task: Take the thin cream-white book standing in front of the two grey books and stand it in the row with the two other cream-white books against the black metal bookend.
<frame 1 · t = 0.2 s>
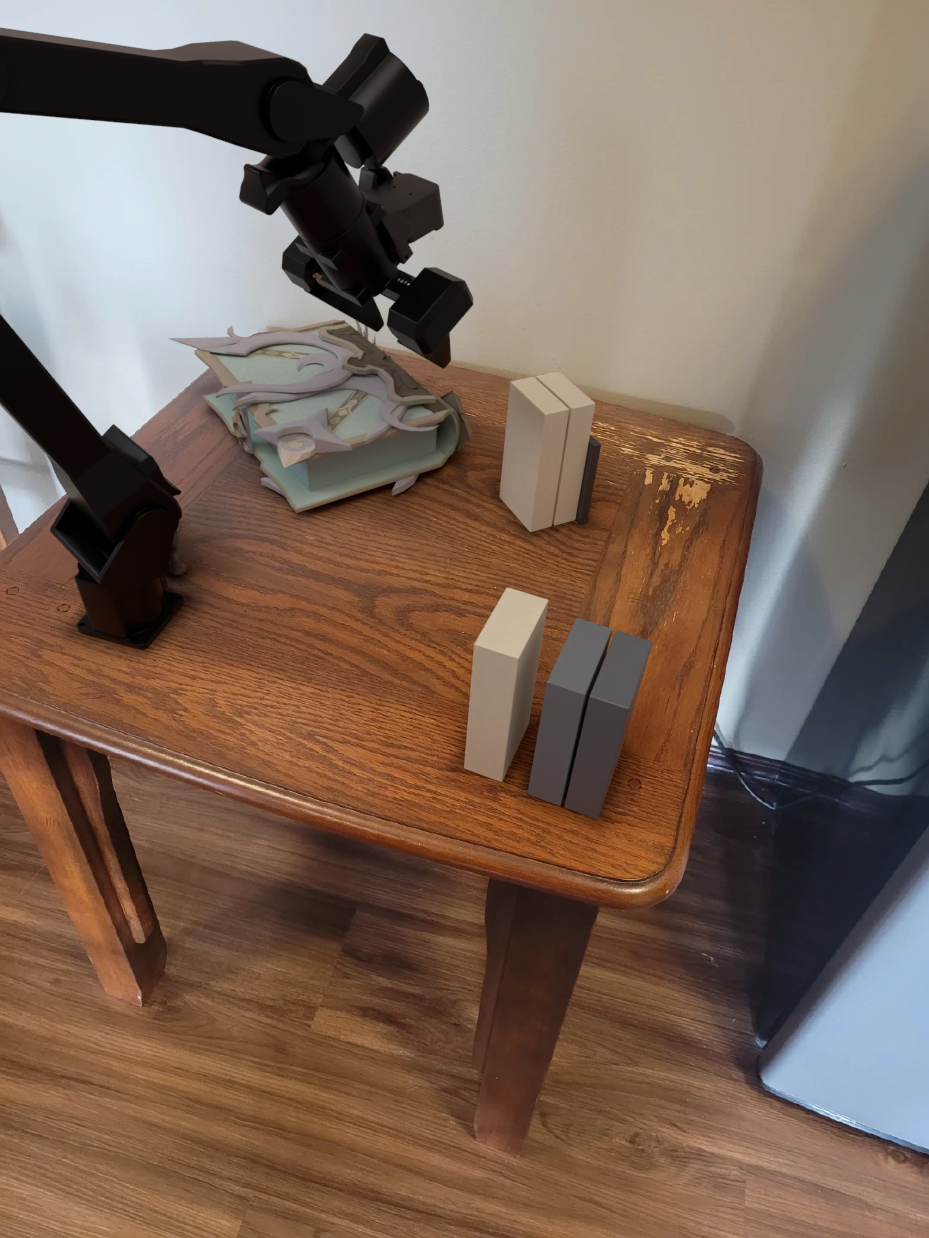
hand: (412, 345, 78), 15 cm above the table, tool tilted 35°, fingers open, 9 cm apart
white book: (497, 745, 64), on the table
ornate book: (322, 436, 94), on the table
white books: (547, 452, 81), on the table
grey books: (587, 721, 58), on the table
rhino figurine: (141, 542, 79), on the table
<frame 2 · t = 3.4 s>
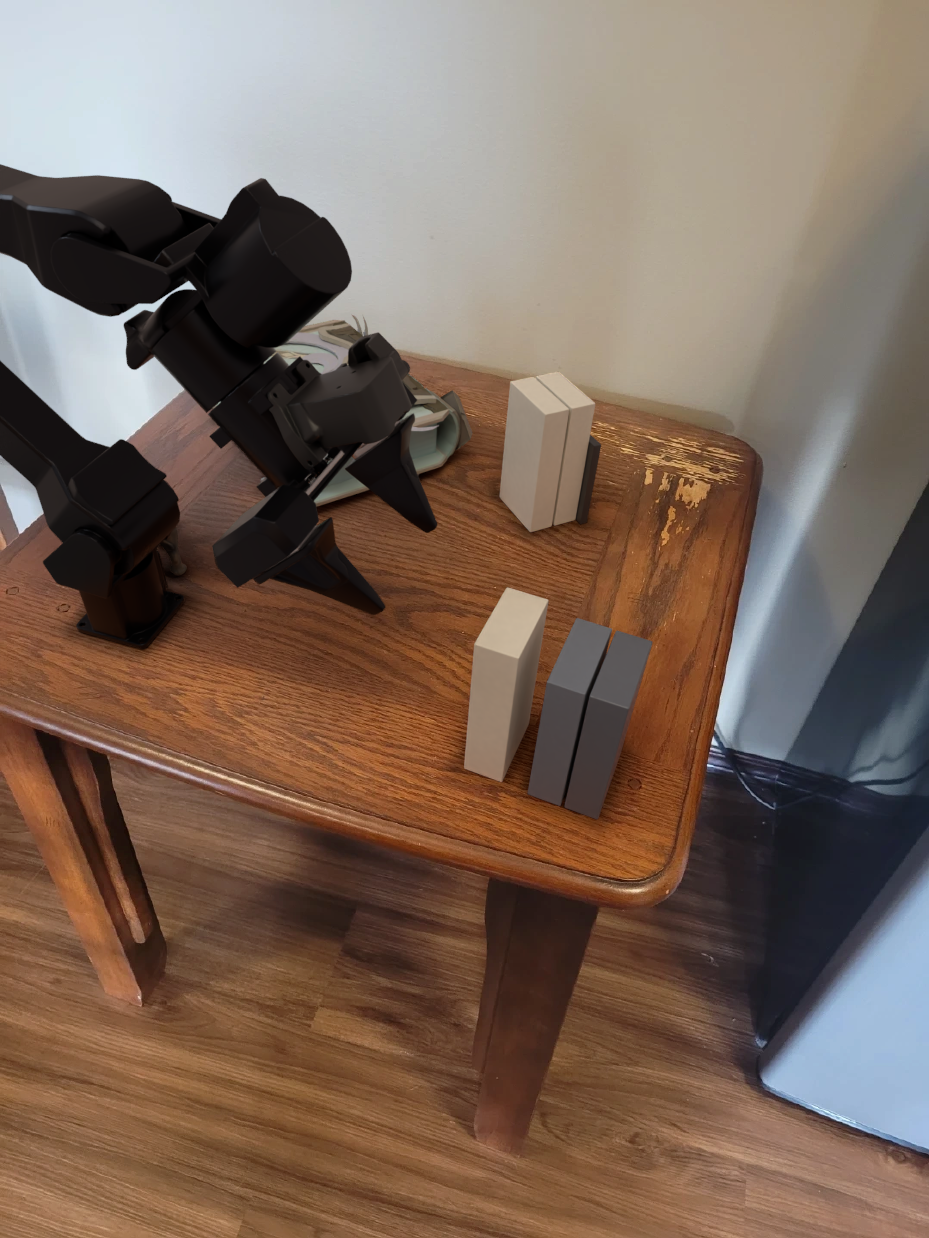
hand: (408, 568, 57), 14 cm above the table, tool tilted 45°, fingers open, 9 cm apart
nothing on the table moved.
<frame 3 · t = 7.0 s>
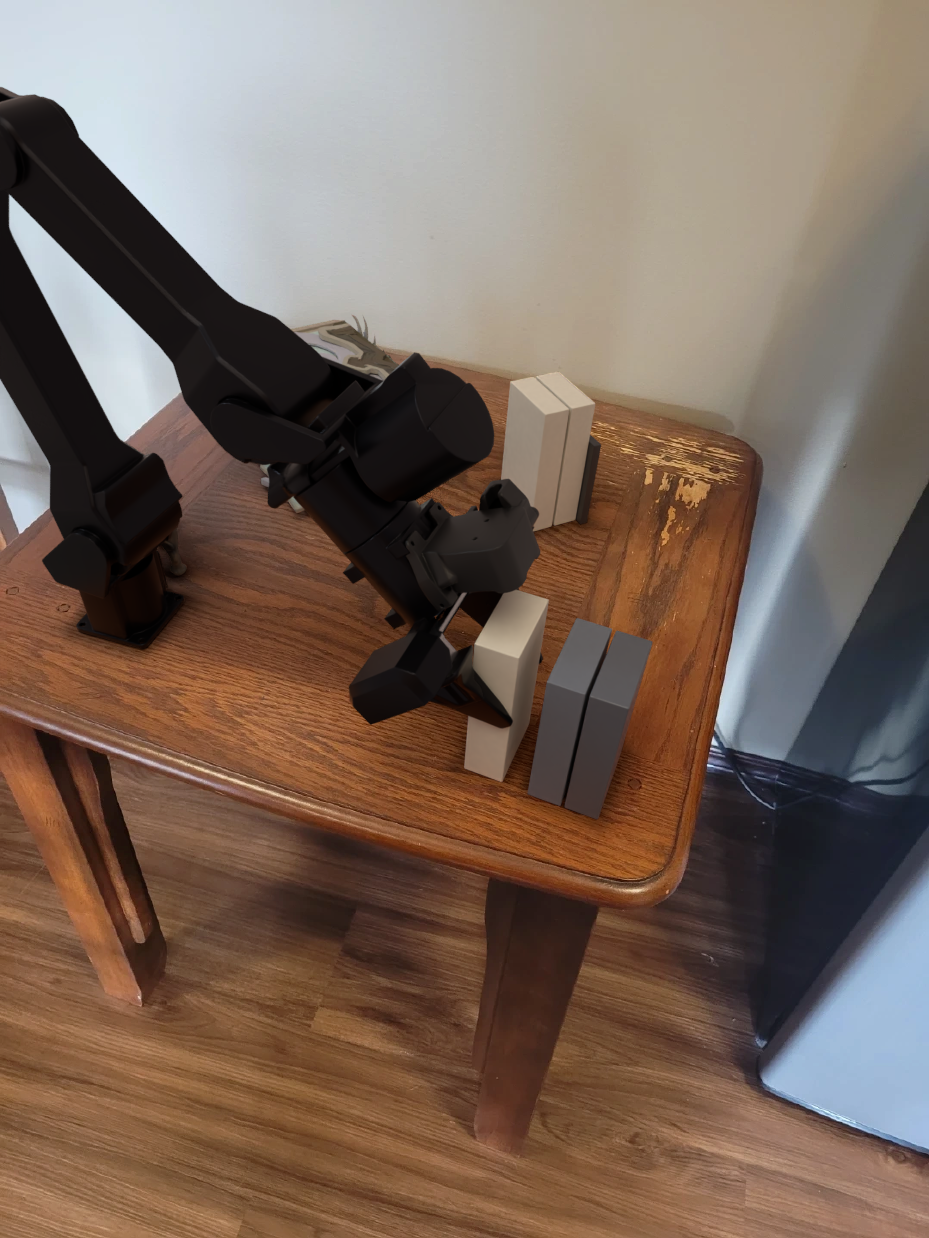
hand: (523, 693, 59), 7 cm above the table, tool tilted 45°, fingers closed on white book, 6 cm apart
white book: (497, 745, 64), on the table, touching gripper
everything else where it was.
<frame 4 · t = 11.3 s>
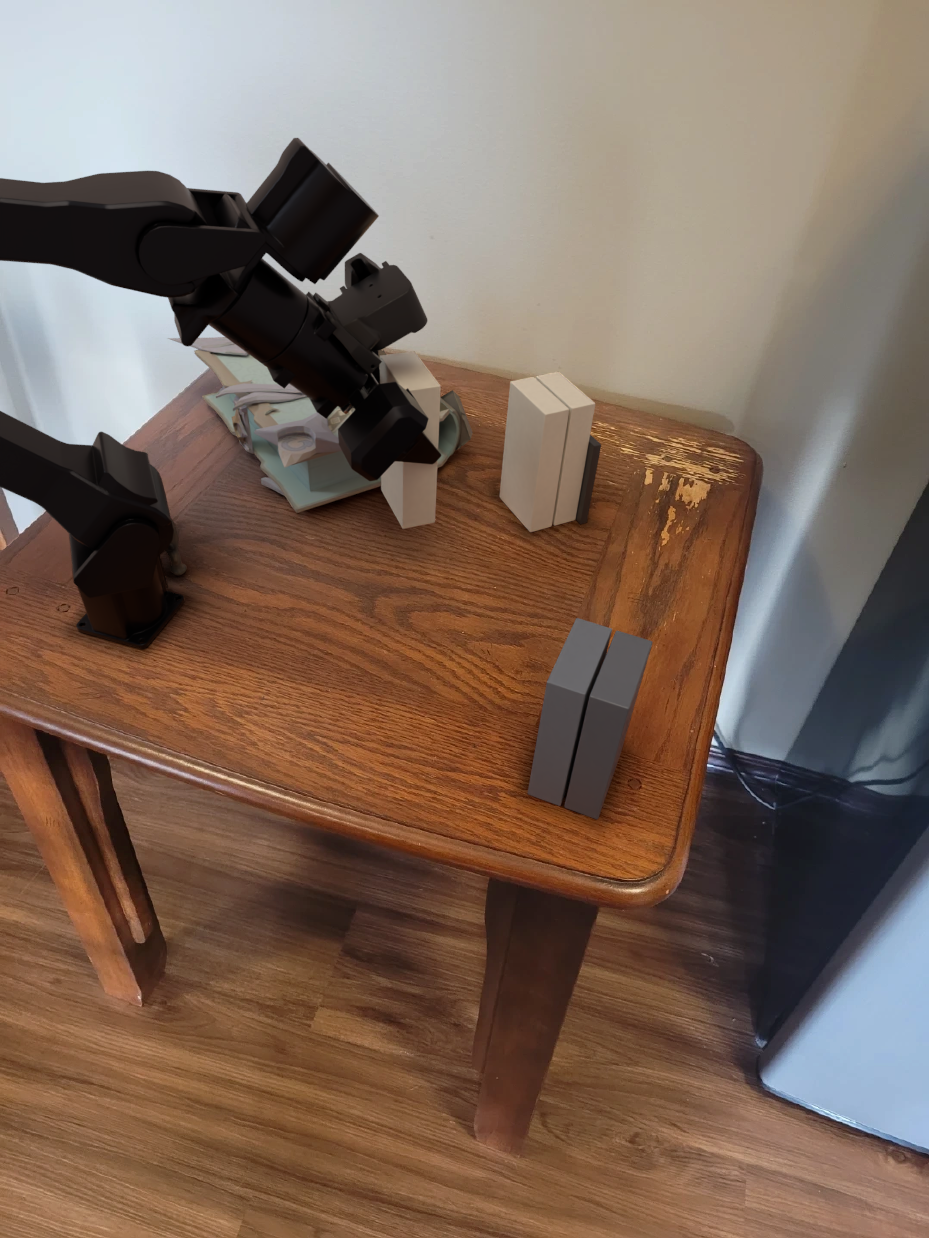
hand: (423, 439, 71), 13 cm above the table, tool tilted 45°, fingers closed on white book, 6 cm apart
white book: (407, 506, 75), point 6 cm above the table, touching gripper
everything else where it was.
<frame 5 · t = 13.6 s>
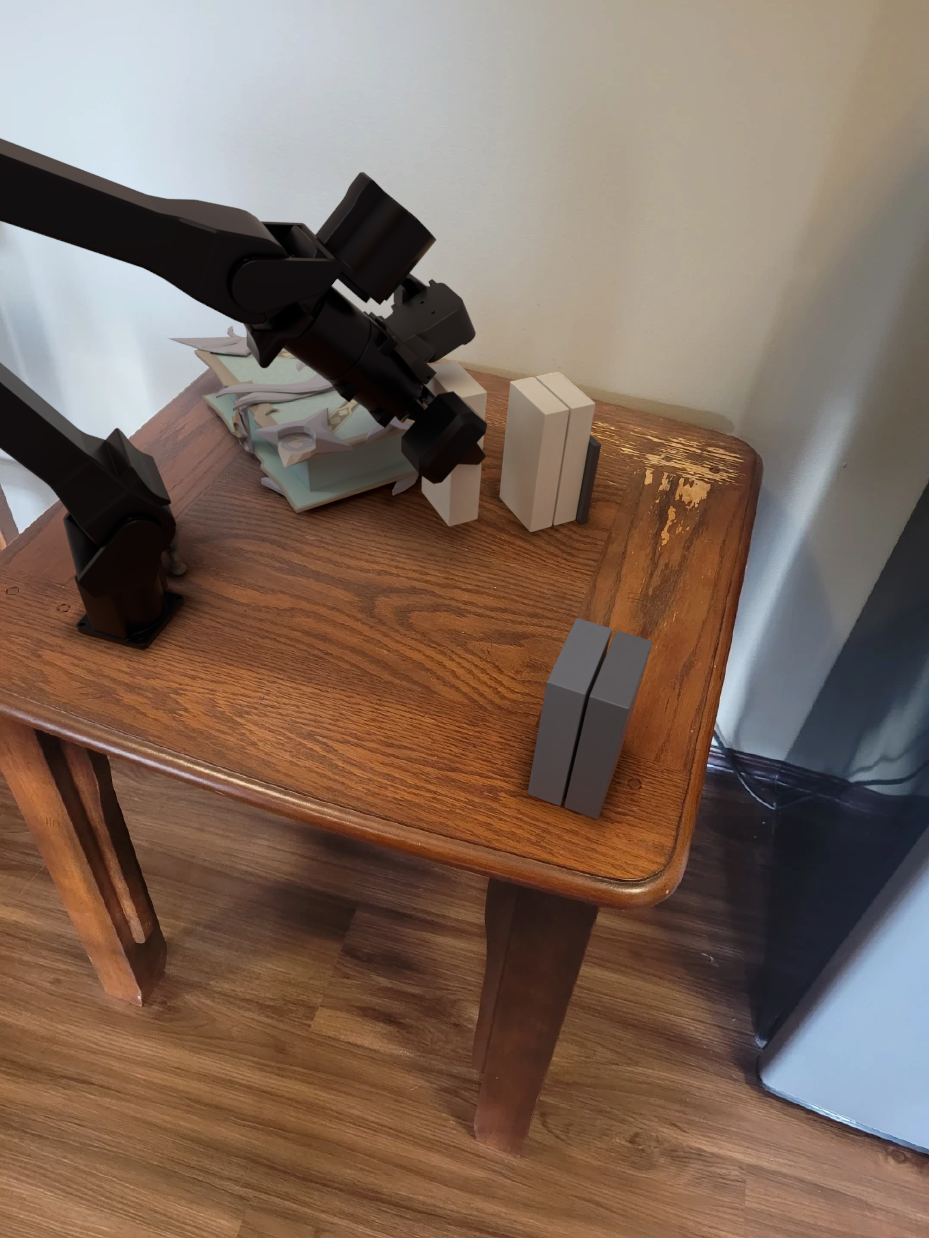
hand: (465, 442, 76), 10 cm above the table, tool tilted 45°, fingers closed on white book, 6 cm apart
white book: (449, 505, 80), point 3 cm above the table, touching gripper
everything else where it was.
when the fingers open (7 cm above the table, at t = 15.6 s): white book stays where it is, on the table.
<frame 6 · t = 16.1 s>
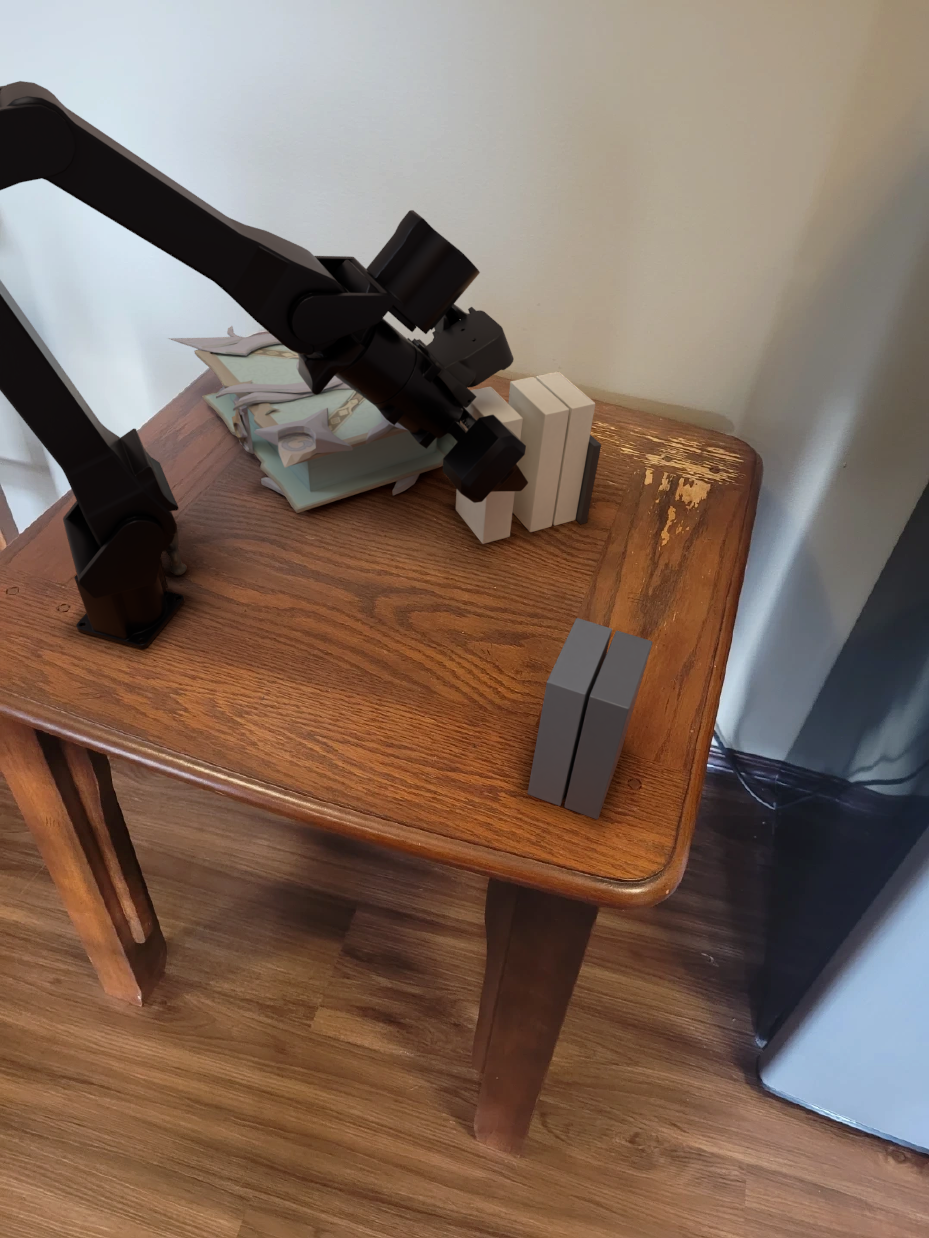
hand: (499, 460, 79), 7 cm above the table, tool tilted 45°, fingers open, 9 cm apart
white book: (482, 523, 84), on the table
everything else where it was.
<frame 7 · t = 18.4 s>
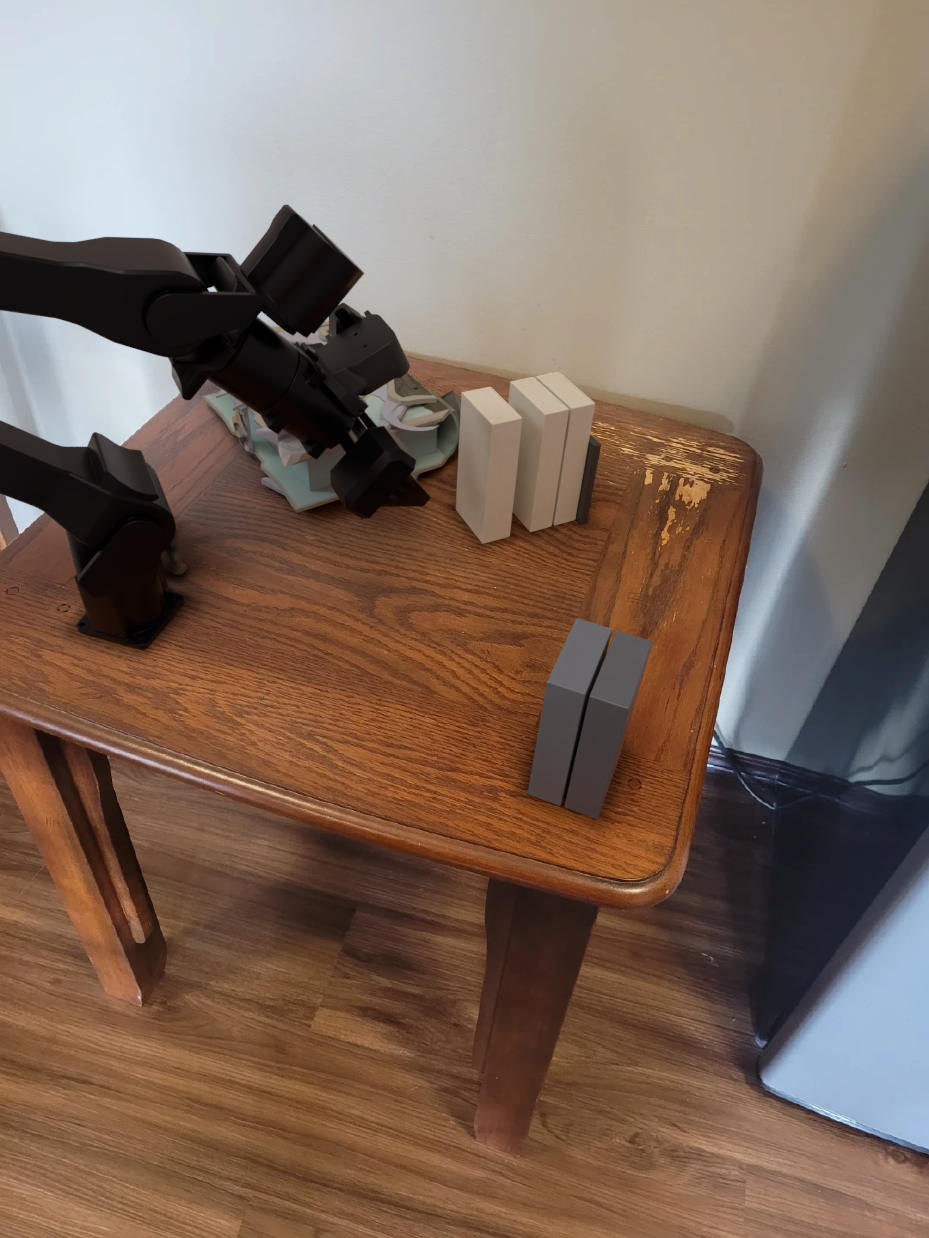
hand: (405, 472, 75), 8 cm above the table, tool tilted 45°, fingers open, 9 cm apart
nothing on the table moved.
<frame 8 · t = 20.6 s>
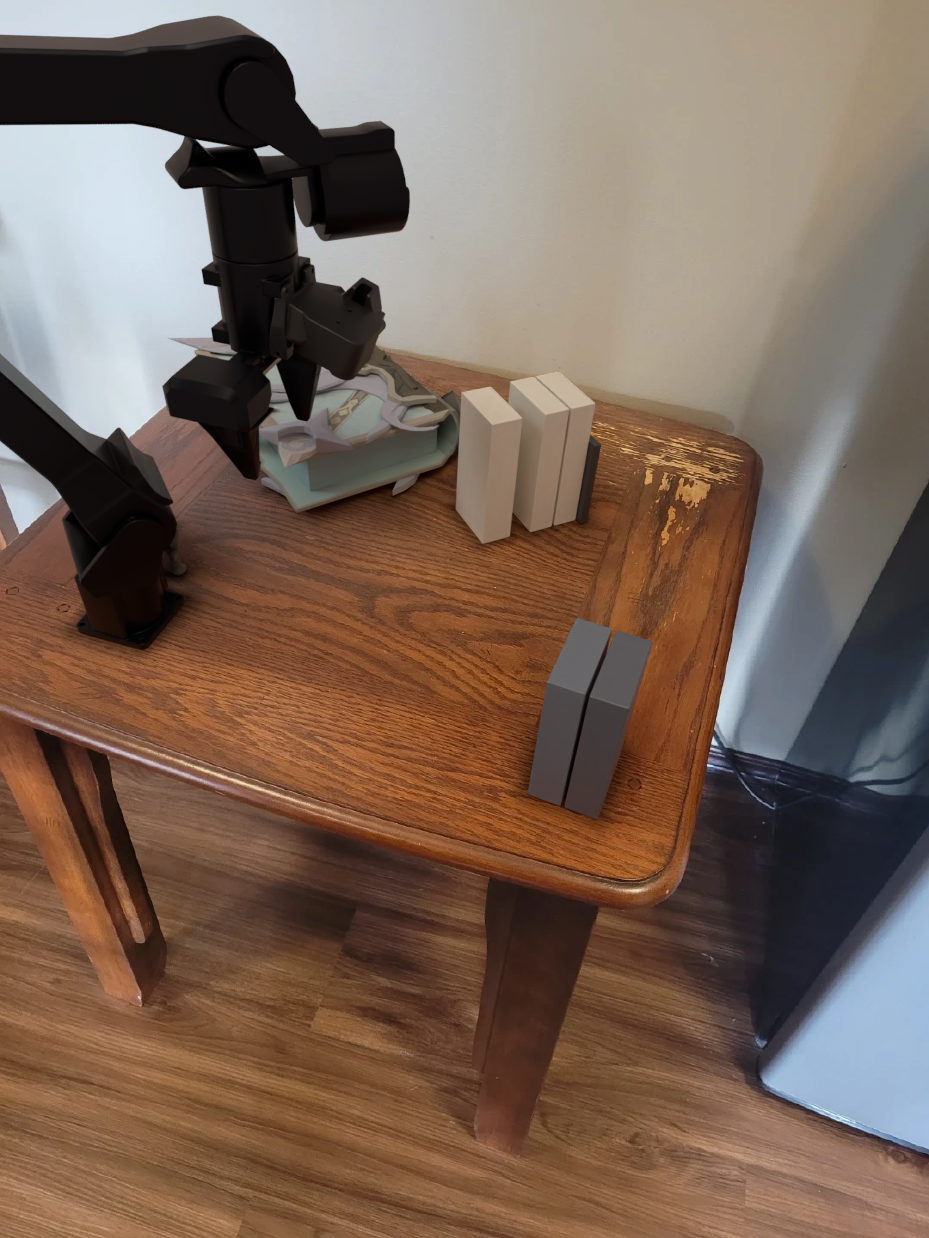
hand: (278, 447, 68), 13 cm above the table, tool pointing down, fingers open, 9 cm apart
nothing on the table moved.
at the end: white book 0.1 cm off-centre on the white books, point 0.0 cm above the white books's base; white book tilted 0°; the gripper is holding nothing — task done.
